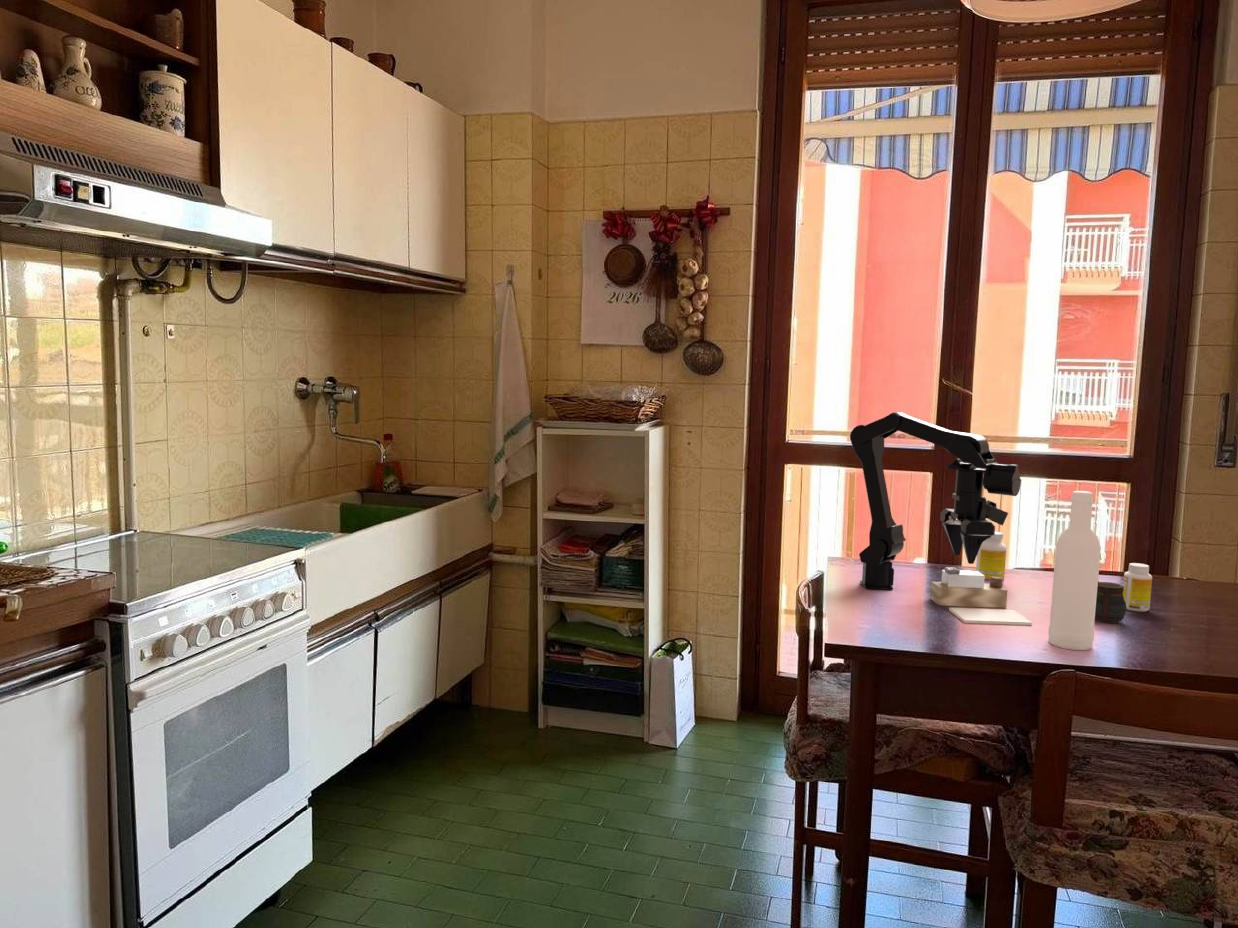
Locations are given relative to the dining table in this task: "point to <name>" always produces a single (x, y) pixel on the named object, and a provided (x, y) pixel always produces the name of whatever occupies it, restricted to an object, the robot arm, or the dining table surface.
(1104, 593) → the mate gourd
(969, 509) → the robot arm
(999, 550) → the supplement bottle
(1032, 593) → the dining table surface
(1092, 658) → the dining table surface
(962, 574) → the lever cap
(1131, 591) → the supplement bottle
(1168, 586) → the dining table surface
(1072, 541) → the bottle
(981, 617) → the board
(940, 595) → the body
